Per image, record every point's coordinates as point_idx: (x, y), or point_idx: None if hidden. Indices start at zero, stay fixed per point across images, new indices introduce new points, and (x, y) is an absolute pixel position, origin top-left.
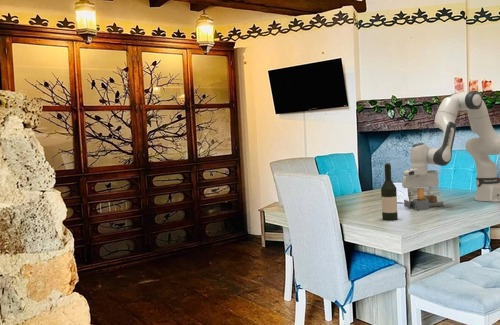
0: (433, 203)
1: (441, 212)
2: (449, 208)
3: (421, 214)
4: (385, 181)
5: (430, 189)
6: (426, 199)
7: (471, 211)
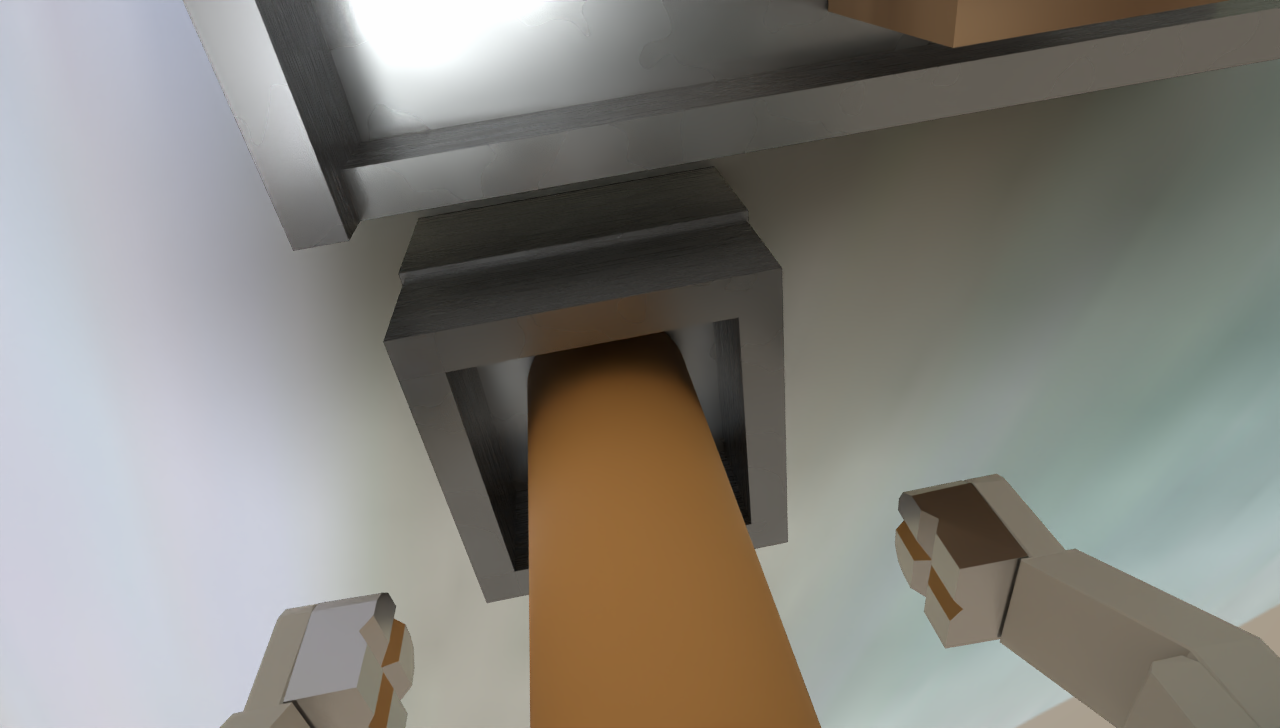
0: (994, 101)
1: (820, 602)
2: (1107, 328)
3: (520, 700)
4: None
5: (1078, 697)
6: (775, 447)
7: (1194, 559)
